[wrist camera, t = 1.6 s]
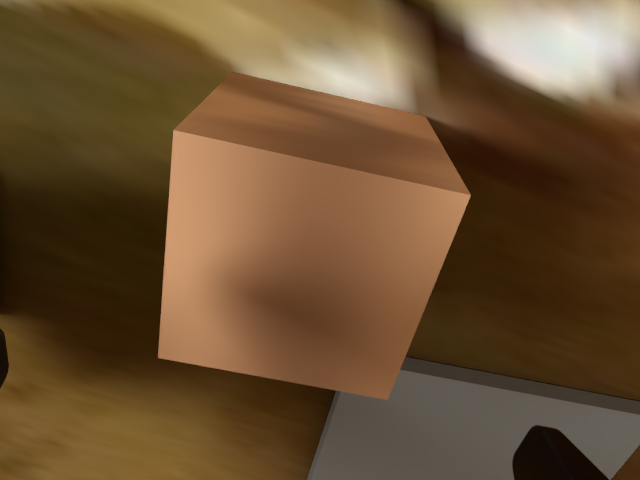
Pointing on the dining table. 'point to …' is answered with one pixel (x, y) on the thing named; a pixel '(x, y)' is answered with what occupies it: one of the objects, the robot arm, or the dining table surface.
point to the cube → (303, 235)
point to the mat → (465, 426)
